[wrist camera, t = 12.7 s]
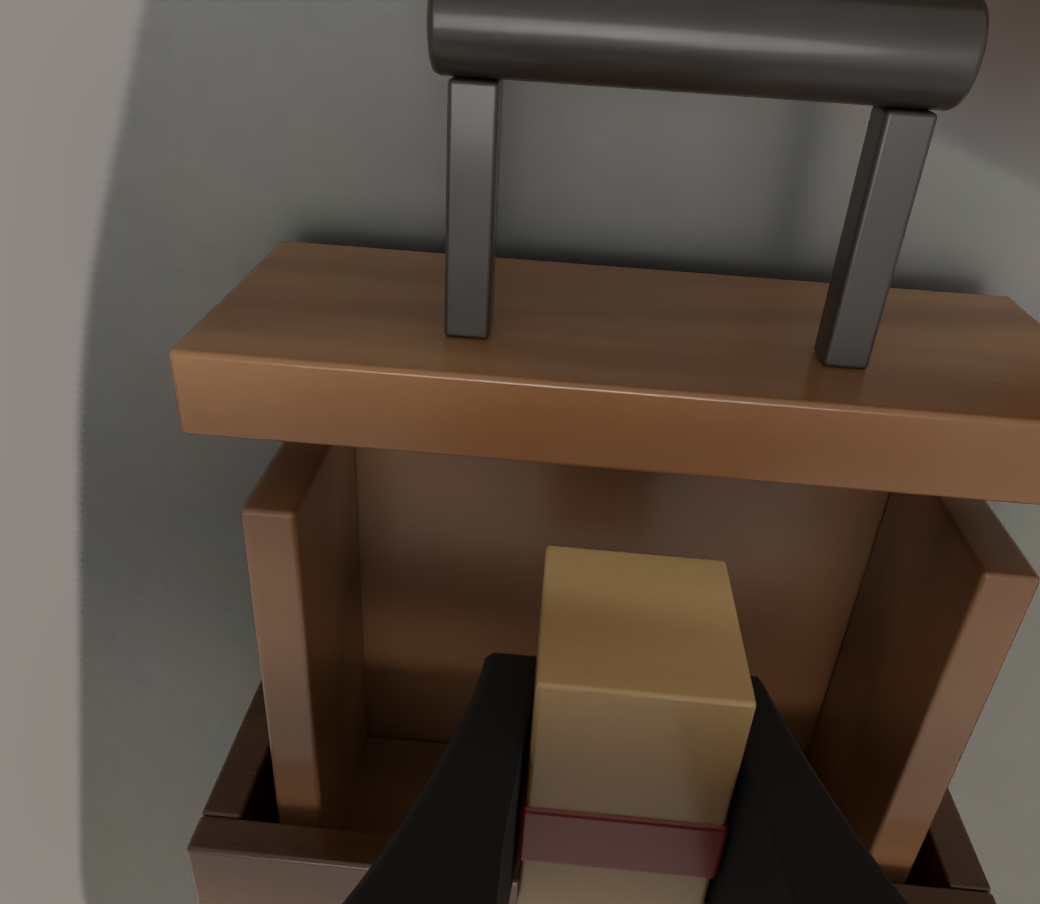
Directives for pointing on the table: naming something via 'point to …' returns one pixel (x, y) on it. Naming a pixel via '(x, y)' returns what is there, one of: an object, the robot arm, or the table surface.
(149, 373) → the table surface
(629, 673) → the red striped tan block
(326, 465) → the drawer
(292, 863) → the cabinet
